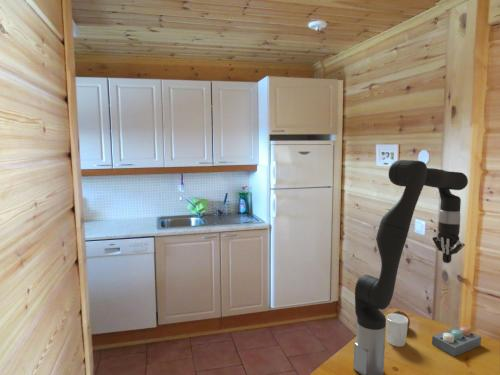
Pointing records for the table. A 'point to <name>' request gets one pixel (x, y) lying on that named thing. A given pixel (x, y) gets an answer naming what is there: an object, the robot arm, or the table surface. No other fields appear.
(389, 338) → the white cup
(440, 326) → the table surface
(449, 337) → the ivory button
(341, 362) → the table surface
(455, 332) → the teal button
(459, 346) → the button panel
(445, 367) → the table surface
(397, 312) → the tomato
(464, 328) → the pink cube
